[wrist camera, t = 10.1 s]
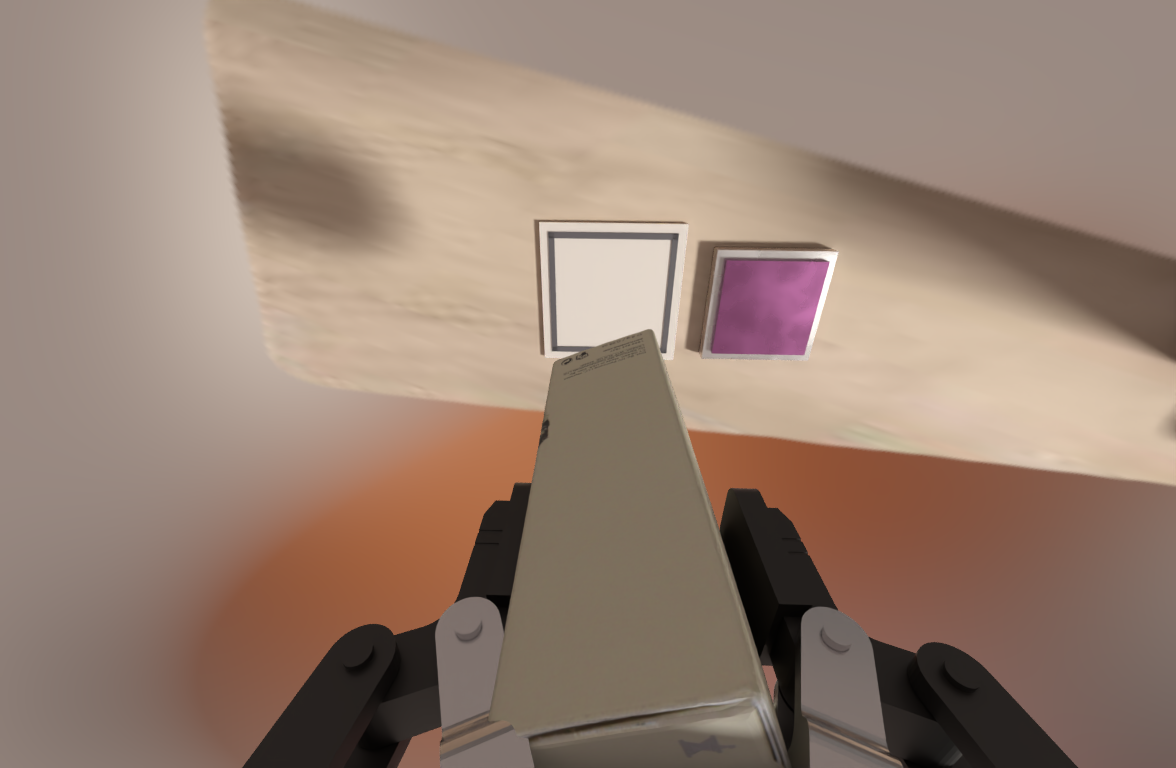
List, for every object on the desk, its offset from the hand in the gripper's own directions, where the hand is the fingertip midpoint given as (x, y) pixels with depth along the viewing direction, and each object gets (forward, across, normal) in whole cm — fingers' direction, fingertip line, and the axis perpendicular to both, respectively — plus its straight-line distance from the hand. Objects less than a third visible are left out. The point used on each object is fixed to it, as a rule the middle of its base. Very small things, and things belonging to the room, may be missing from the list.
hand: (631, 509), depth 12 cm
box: (+7, 0, 0) cm, 7 cm away
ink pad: (+21, -11, 0) cm, 24 cm away
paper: (+21, 0, 0) cm, 21 cm away
